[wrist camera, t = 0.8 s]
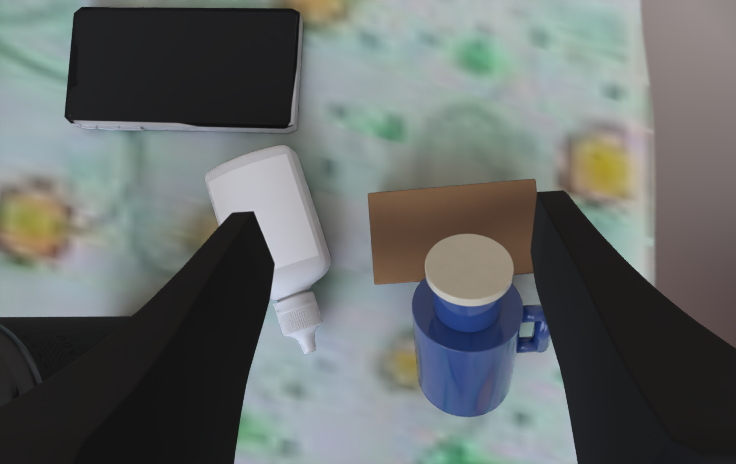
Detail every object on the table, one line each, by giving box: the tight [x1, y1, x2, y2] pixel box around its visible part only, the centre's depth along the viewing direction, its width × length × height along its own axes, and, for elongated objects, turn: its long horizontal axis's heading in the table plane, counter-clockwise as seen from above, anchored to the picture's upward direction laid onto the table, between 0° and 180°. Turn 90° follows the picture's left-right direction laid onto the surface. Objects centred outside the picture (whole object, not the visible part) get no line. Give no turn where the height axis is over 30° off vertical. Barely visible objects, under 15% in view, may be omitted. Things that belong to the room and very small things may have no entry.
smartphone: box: [65, 7, 303, 133], centre depth 32 cm, size 8×1×15 cm
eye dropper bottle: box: [205, 145, 331, 354], centre depth 29 cm, size 4×6×12 cm
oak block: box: [368, 179, 537, 285], centre depth 28 cm, size 5×9×4 cm, turn 94°
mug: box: [412, 234, 551, 417], centre depth 25 cm, size 9×7×10 cm
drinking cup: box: [0, 316, 132, 407], centre depth 22 cm, size 8×8×20 cm
